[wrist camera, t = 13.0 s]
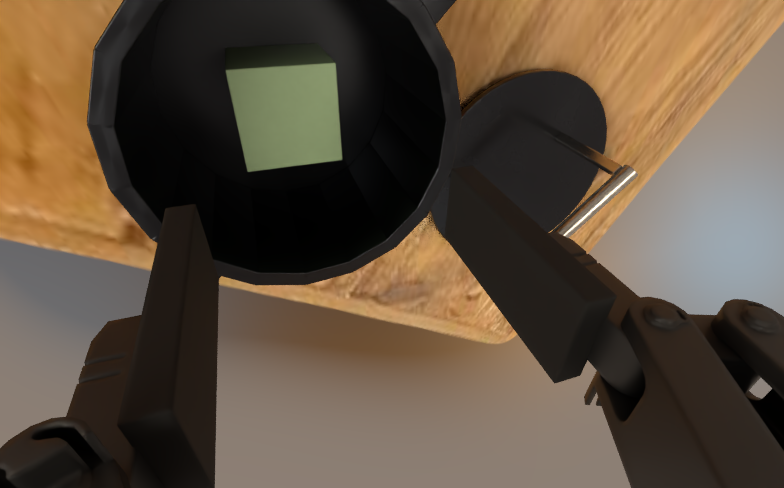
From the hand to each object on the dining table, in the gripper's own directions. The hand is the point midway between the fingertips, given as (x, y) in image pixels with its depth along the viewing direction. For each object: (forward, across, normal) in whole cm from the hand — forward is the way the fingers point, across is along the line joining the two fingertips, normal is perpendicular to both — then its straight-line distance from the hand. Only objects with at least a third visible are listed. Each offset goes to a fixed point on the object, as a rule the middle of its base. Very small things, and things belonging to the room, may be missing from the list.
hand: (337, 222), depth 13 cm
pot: (+15, 0, 0) cm, 15 cm away
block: (+15, 0, 0) cm, 15 cm away
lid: (+14, +17, -8) cm, 24 cm away
